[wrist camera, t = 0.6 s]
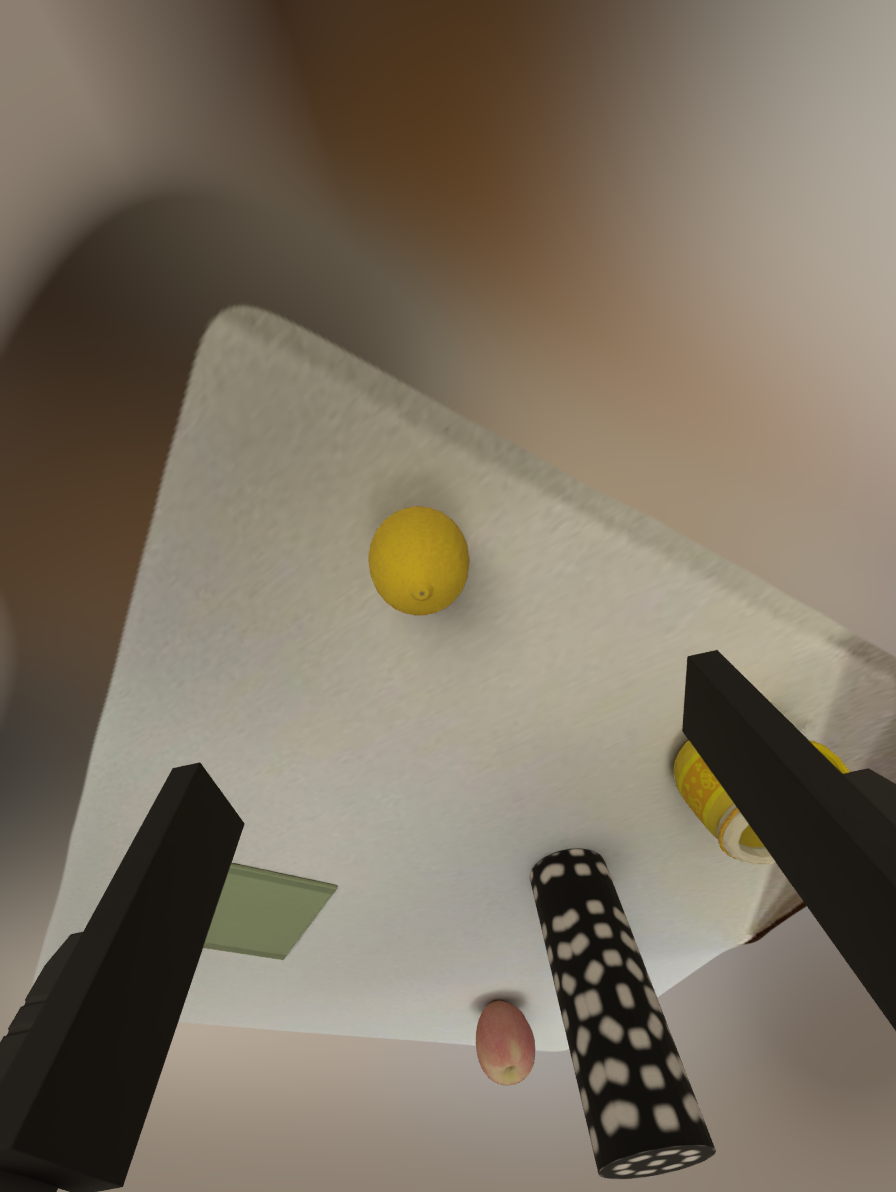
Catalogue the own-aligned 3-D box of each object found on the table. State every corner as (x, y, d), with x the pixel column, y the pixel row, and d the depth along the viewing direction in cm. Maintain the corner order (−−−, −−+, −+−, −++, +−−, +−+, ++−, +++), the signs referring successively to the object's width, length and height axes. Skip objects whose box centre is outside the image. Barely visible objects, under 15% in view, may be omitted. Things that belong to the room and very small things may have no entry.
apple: (536, 993, 64) (552, 1073, 57) (508, 1016, 67) (520, 1094, 60) (488, 987, 61) (499, 1069, 54) (461, 1010, 64) (468, 1091, 58)
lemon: (459, 571, 30) (475, 640, 23) (375, 572, 30) (366, 642, 23) (463, 490, 27) (482, 540, 20) (370, 489, 27) (358, 540, 20)
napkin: (137, 934, 48) (135, 937, 48) (174, 851, 42) (173, 854, 42) (283, 957, 53) (283, 960, 53) (337, 885, 47) (336, 888, 46)
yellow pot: (667, 800, 44) (748, 941, 34) (661, 723, 39) (756, 864, 28) (799, 766, 43) (924, 901, 33) (812, 683, 38) (967, 812, 27)
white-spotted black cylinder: (537, 850, 46) (615, 1152, 29) (613, 847, 47) (734, 1139, 30) (523, 894, 50) (586, 1184, 33) (594, 891, 51) (691, 1171, 34)
